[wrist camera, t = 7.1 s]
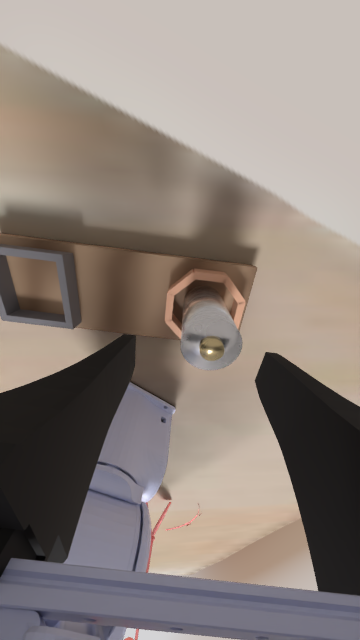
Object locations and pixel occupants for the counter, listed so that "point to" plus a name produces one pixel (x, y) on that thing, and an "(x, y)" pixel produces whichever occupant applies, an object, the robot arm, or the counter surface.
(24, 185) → the counter surface
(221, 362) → the steel cell
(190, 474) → the counter surface
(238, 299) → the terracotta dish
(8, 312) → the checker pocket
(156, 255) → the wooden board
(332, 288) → the counter surface
